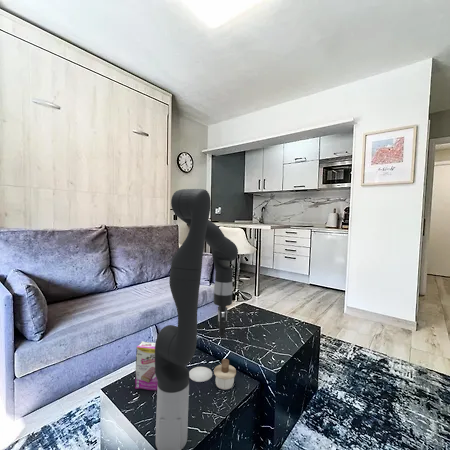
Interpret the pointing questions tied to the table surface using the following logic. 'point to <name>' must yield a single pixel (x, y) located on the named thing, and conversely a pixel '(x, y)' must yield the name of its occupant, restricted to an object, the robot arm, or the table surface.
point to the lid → (224, 370)
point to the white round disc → (200, 374)
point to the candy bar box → (145, 367)
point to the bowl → (224, 383)
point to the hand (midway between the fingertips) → (221, 331)
